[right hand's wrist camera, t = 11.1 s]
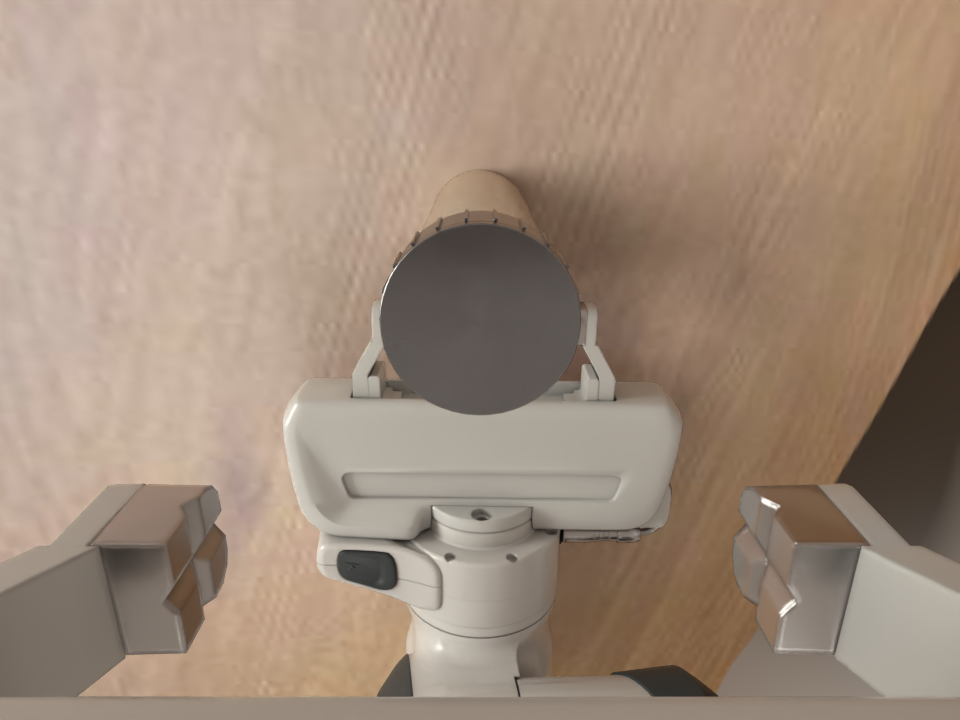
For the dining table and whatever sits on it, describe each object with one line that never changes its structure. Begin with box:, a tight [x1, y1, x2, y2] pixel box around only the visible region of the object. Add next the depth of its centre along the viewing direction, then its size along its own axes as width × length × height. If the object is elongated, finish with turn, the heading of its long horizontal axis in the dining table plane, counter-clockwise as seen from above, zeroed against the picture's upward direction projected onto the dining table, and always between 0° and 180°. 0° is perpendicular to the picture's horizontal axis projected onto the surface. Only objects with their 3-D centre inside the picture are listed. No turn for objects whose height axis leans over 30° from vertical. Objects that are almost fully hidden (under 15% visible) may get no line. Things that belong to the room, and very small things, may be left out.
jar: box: [422, 170, 538, 231], centre depth 29 cm, size 5×5×18 cm
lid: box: [379, 209, 582, 416], centre depth 21 cm, size 6×6×2 cm
